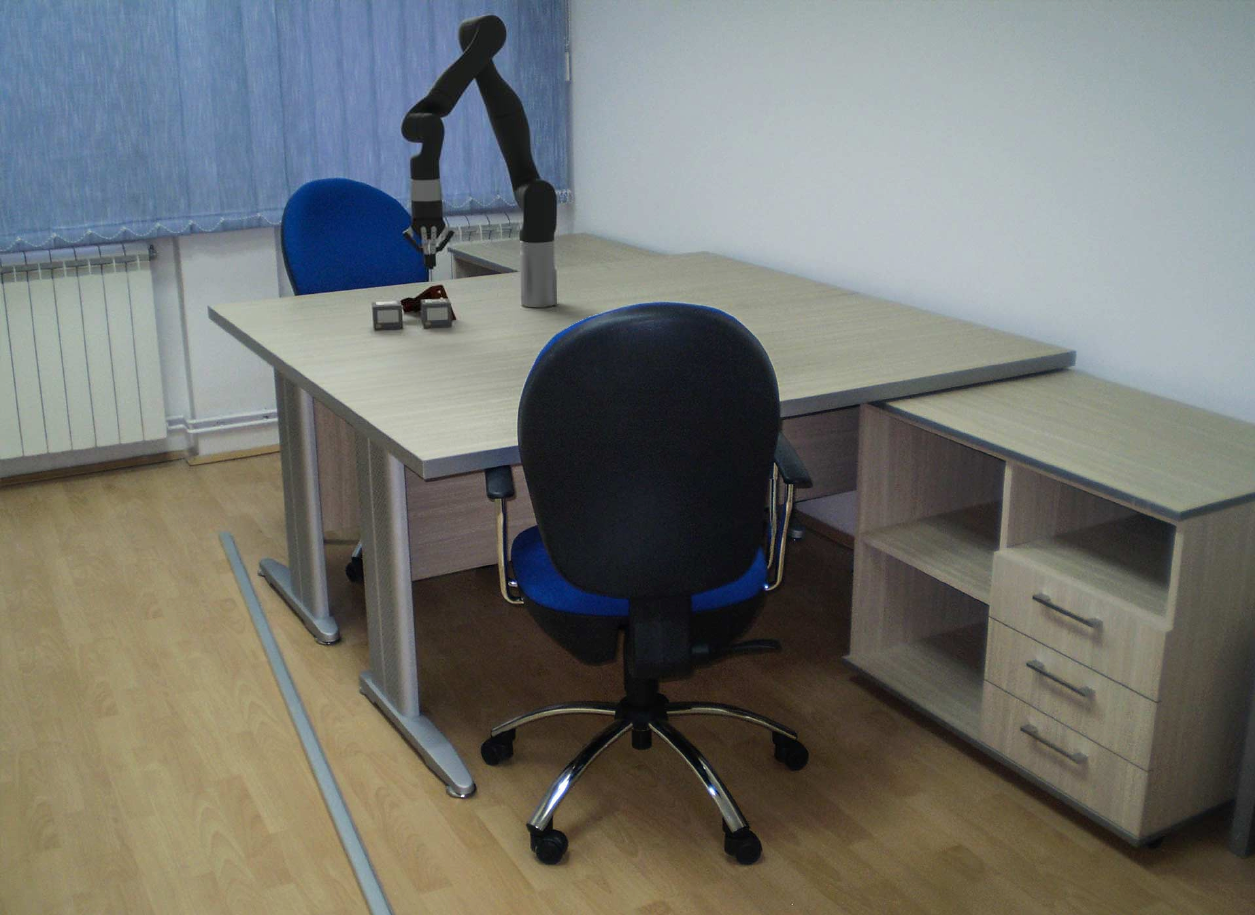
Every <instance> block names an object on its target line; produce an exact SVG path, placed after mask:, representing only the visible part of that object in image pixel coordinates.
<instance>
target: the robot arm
mask: <svg viewBox="0 0 1255 915" xmlns="http://www.w3.org/2000/svg"><path fill="white" fill-rule="evenodd" d="M457 29H458V30H457V38H458V42H459V46H460V49H461V52H462V54H461V55H460V56H459V57H457V59H456V60H455V61H454V62H452V63H451V64H450V65H448V67H447V68H446V69H445V70H443V71H442V72H441V73H440V75H439V76H438V77H437V79H436V80H435V81H434V82H433V84H432V85H431V87H430V89H429V90H428V92H427V94H426V95H425V96H424V97H423V98H421V99H420V100H419V101H418V102H416V103H415V105H413V106H412V107H411V108H410V109H409V110H408V111H407V113H405V115H404V116H403V118H402V121H401V125H400V132H401V135H402V138H404V140H406V141H407V142H408V143H409V142H410V143H415V144H421V149H420V152H419V153H415V154H412V155H411V156H410V158H409V159H410V160H409V167H410V169H409V170H410V185H409V186H410V187H409V188H410V205H411V206H410V207H411V222H410V225H409V228H407V229H406V230H404V231H403V232H402V235H403V238H405V239H406V241H407V242H408V243H409V244H410V245H411V246H412V248H413V249H414V250H415V251H416V252H418V253H422V254H423V260H424V261H423V263H424V267H425V268H427V270H435V268H436V267H437V258H436V256H437V255H436V254H437V253H439V252H442V251H443V250H444V249H445V247H446V246H447V245H448V243H449V242H450V241H451V239H452V237H453V236H454V235H455V232H454V230H453V229H451V228H450V227H448V226H446V222H445V221H444V212H443V211H444V210H443V193H442V192H443V191H442V190H443V189H442V183H441V171H440V170H441V169H440V158H441V155H442V149H443V146H444V141H445V140H444V139H445V133H446V132H445V125H444V122H443V120H442V119H443V118H445V117H446V118H447V117H448V116H449V115H450V114H451V113H452V111H453V110H454V109H455V107H456V105H457V104H458V102H459V100H460V99H461V97H462V95H463V94H464V93H465V91H466V90H467V88H468V87H469V86H470V85H471V83H472V82H473V81H474V80H475V82H476V85H477V88H478V91H479V94H480V96H481V98H482V101H483V104H484V107H485V110H486V113H487V117H488V120H489V122H490V125H491V128H492V131H493V134H494V136H495V138H496V142H497V144H498V147H499V150H500V153H501V154H502V157H503V159H504V162H505V164H506V168H507V171H508V175H509V180H510V184H511V188H512V192H513V196H514V199H515V202H516V204H517V206H518V208H519V209H521V210H522V212H523V218H522V219H523V220H522V222H523V223H522V227H521V228H520V229H519V234H518V236H519V271H520V272H519V273H520V300H521V301H520V303H521V306H523V307H527V308H549V307H553V305H555V306H558V282H557V281H558V280H557V278H558V277H557V276H558V275H557V273H558V272H557V269H556V266H555V264H556V263H555V257H556V256H555V234H556V230H557V223H558V222H557V221H558V220H557V218H558V198H557V192H556V189H555V188H554V186H553V185H552V184H551V183H550V182H549V181H547V180H544V179H542V178H541V176H540V174H539V172H538V169H537V167H536V164H535V162H534V158H533V155H532V145H531V144H532V143H531V132H530V126H529V120H528V118H527V114H526V112H525V109H524V105H523V102H522V101H521V99H520V97H519V95H518V94H517V93H516V92H515V90H514V89H513V88H512V87H511V86H510V85H509V84H508V82H506V80H505V79H504V78H503V77H502V75H501V74H500V72H499V71H498V70H497V67H496V64H495V62H494V60H493V58H495V56H496V55H497V54H498V53H499V52H500V50H501V49H502V48H503V47H504V45H505V44H506V41H507V34H508V32H507V28H506V25H505V23H504V21H503V20H502V19H501V18H500V17H499V16H497V15H495V14H492V13H491V14H482V15H478V16H473V17H470V18H466V19H463V20H462V21H461V22H460V23H459V26H458V28H457ZM442 233H443V235H444V236H443V238H442V239H441V241H440V242H439V243H438V245H437V239H439V237H440V236H441V234H442ZM414 234H415V235H416V236H417V238H418V239H419V240H421V245H422V246H420V245H419V244H418V242H417V241H416V240H415V239H414ZM428 240H429V242H428ZM434 267H435V268H434ZM548 306H549V307H548Z"/></svg>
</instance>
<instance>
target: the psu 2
mask: <svg viewBox="0 0 1255 915" xmlns="http://www.w3.org/2000/svg"><path fill="white" fill-rule="evenodd" d="M420 301H421V311H420V315H421V317H420V318H421V325H422V327H423V329H436V328H437V329H439V328H442V329H443V328H453V321H452V313H451V306H452V302H451V300H450V299H449V298H448V299H443V298H441V299H427V300H420Z"/></svg>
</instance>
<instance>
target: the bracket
mask: <svg viewBox="0 0 1255 915" xmlns="http://www.w3.org/2000/svg"><path fill="white" fill-rule="evenodd" d="M427 299H449V297H448V295H447V291H446V289H445V287H444V285H443V284H436V285H431V286H429V287H428V288H426V289H425V290H423V291H422V292H420V293H419V294H417V295H416V296H415V297H412V296H411V297H409V296H408V297H406V298H403V299H401V300H399V301H400V302H401V304H402V312H403V314H408V313H413V312H414V313H421V301H420V300H427ZM451 313H452V322H453V321H457V317H456V315H455V312H454V310H453V305H451Z"/></svg>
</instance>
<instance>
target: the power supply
mask: <svg viewBox="0 0 1255 915" xmlns="http://www.w3.org/2000/svg"><path fill="white" fill-rule="evenodd" d="M402 307H403V306H402V304H401V302H400V300H390V301H386V300H385V301H371V312H372V315H371V316H372V326H373V331H374V332H378V331H379V332H381V331H383V332H384V331H398V330H399V331H401V330H402V331H403V330H404V321H403V320H404V317H403V309H402Z"/></svg>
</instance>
